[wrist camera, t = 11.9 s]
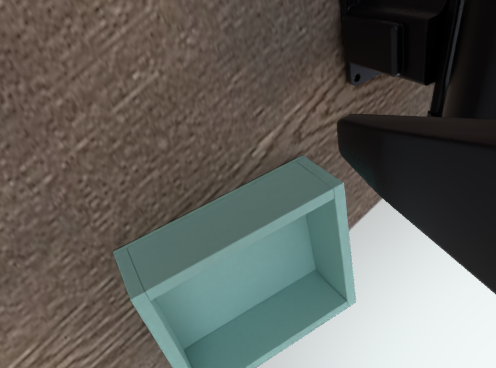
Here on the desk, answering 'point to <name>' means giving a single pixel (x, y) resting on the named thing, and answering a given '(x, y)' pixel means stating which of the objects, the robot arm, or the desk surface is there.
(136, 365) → the desk surface
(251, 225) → the bin
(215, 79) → the desk surface
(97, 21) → the desk surface
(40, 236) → the desk surface
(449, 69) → the robot arm
